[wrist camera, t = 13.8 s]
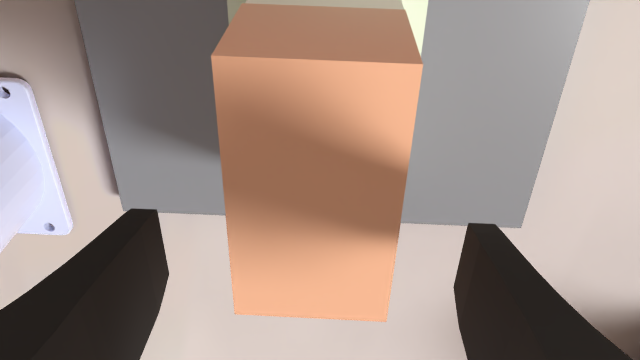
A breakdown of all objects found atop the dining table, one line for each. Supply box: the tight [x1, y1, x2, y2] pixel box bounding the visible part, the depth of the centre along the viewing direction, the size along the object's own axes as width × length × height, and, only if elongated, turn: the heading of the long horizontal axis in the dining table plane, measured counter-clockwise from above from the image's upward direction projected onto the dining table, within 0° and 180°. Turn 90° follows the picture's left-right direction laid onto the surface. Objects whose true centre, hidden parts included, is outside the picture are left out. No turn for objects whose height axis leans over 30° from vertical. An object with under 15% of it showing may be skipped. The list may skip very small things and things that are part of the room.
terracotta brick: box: [211, 3, 423, 322], centre depth 15 cm, size 4×8×4 cm, turn 179°
